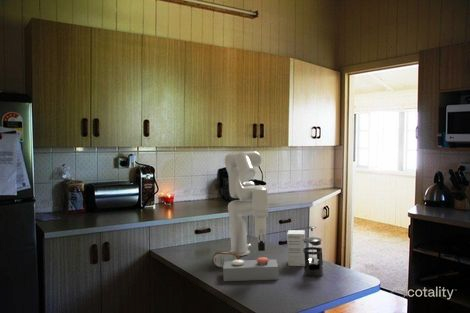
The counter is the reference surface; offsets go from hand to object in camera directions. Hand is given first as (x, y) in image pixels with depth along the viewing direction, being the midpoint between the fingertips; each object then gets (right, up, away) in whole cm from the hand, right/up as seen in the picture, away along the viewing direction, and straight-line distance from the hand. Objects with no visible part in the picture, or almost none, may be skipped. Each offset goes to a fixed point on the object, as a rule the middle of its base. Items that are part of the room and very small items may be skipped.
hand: (261, 250), depth 189 cm
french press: (+26, -11, -1) cm, 28 cm away
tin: (-17, -13, +15) cm, 26 cm away
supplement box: (+20, -11, +17) cm, 29 cm away
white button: (-11, -11, 0) cm, 15 cm away
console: (-5, -13, 0) cm, 13 cm away
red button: (+1, -9, -1) cm, 9 cm away
